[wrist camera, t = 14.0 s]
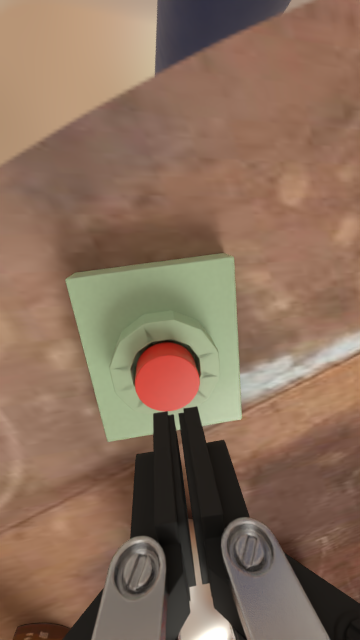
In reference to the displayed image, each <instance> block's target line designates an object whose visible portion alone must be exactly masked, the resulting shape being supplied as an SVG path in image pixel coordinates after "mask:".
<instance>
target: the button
mask: <svg viewBox="0 0 360 640" xmlns="http://www.w3.org/2000/svg"><path fill="white" fill-rule="evenodd" d="M199 385H200V378H199V374H198V371H197V367H196V364H195V361H194V358H193V357H192V355H191V353H190V352H189V351H188V350H187V349H186V348H184V347H183V346H181V345H179V344H176V343H171V342H163V343H158V344H155V345H153V346H151V347H149V348H148V349H146V350H145V351H144V352H143V353H142V354H141V356H140V357H139V359H138V362H137V366H136V376H135V390H136V393H137V395H138V397H139V399H140V400H141V401H142V402H143V403H144V404H145V405H146V406H148V407H150V408H152V409H154V410H158V411H174V410H178V409H180V408H182V407H184V406H186V405H187V404H189V403H190V402H191V401H192V400H193V399H194V397H195V396H196V394H197V392H198V390H199Z"/></svg>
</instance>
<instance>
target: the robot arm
mask: <svg viewBox="0 0 360 640" xmlns="http://www.w3.org/2000/svg"><path fill="white" fill-rule="evenodd" d="M183 411H184V413H178V415H179V422H180V430H181V437H182V444H183V452H184V459H185V466H186V474H187V481H188V488H189V496H190V503H191V510H192V517H193V524H194V531H195V538H196V545H197V552H198V559H199V566H200V572H201V579H202V585H203V584H208V583H209V584H210V590H211V596H212V599H213V605H214V608H215V609H216V610H217V611H218V612H219V613H220V614H221V615H222V616H223V617H224V618H225V619H226V620H227V621H228V622H229V626H230V630H231V633H232V636H233V640H360V604H359V603H358V602H356V601H355V600H354V599H352V598H351V597H349V596H348V595H346V594H345V593H343V592H342V591H340V590H339V589H337V588H336V587H334V586H333V585H331V584H330V583H328V582H327V581H325V580H324V579H322V578H321V577H319V576H318V575H316V574H315V573H313V572H312V571H310V570H309V569H308V568H306V567H305V566H303V565H302V564H300V563H299V562H297V561H296V560H294V559H293V558H291V557H290V556H288V555H287V554H285V553H284V552H283V550H282V548H281V547H280V545H279V543H278V541H277V539H276V537H275V536H274V534H273V533H272V531H271V530H270V529H269V528H268V527H267V526H266V525H265V524H263V523H262V522H260V521H258V520H256V519H254V518H250V517H249V514H248V510H247V507H246V504H245V501H244V498H243V495H242V492H241V489H240V486H239V483H238V480H237V477H236V474H235V471H234V468H233V465H232V461H231V458H230V455H229V452H228V449H227V446H226V443H225V441H224V440H220V441H214V442H208V443H206V440H205V436H204V432H203V427H202V423H201V419H200V415H199V411H198V407H197V406H196V407H190V408H184V409H183ZM153 442H154V452H148V453H142V454H137V455H136V460H135V475H134V490H133V506H132V522H131V537H130V540H128V541H126V542H125V543H124V544H123V545H122V546H121V547H119V548H118V550H117V551H116V553H115V554H114V556H113V558H112V560H111V563H110V566H109V569H108V573H107V577H106V581H105V585H104V588H103V589H102V591H101V592H100V593H99V594H98V596H97V597H96V598H95V599H94V601H93V602H92V603H91V604H90V606H89V607H88V608H87V609H86V611H85V612H84V613H83V614H82V616H81V617H80V618H79V619H78V621H77V622H76V623H75V624H74V625H73V627H72V628H71V629H70V630H69V632H68V633H67V634H66V635H65V637H64V638H63V639H62V640H181V629H182V627H183V625H184V623H185V621H186V620H187V618H188V616H189V614H190V602H189V601H191V599H190V589H189V587H193V586H196V579H195V570H194V562H193V554H192V546H191V538H190V529H189V521H188V513H187V505H186V497H185V488H184V480H183V472H182V465H181V459H180V452H179V445H178V439H177V432H176V426H175V419H174V414H171V415H168V411H165V412H158V413H153Z"/></svg>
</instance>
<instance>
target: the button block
mask: <svg viewBox="0 0 360 640" xmlns="http://www.w3.org/2000/svg"><path fill="white" fill-rule="evenodd" d="M65 281H66V285H67V289H68V292H69V296H70V300H71V304H72V308H73V312H74V315H75V319H76V323H77V327H78V331H79V335H80V338H81V342H82V346H83V350H84V354H85V357H86V361H87V365H88V369H89V373H90V377H91V380H92V384H93V388H94V392H95V396H96V400H97V403H98V407H99V411H100V415H101V419H102V423H103V426H104V430H105V434H106V438H107V441H108V442H110V441H116V440H122V439H128V438H134V437H140V436H146V435H152V434H153V413H158V412H165V411H158V410H154V409H152V408H150V407H148V406H146V405H145V404H144V403H143V402H142V401H141V400H140V399H139V397H138V395H137V393H136V390H135V376H136V366H137V362H138V359H139V357H140V356H141V354H142V353H143V352H144V351H145V350H146V349H148V348H149V347H151V346H153V345H155V344H158V343H163V342H171V343H176V344H179V345H181V346H183V347H184V348H186V349H187V350H188V351H189V352H190V353H191V355H192V357H193V358H194V361H195V364H196V367H197V371H198V374H199V378H200V385H199V390H198V392H197V394H196V396H195V397H194V399H193V400H192V401H191V402H190V403H189V404H187V405H186V406H184V407H182V408H180V409H178V410H174V411H168V415H171V414H174V419H175V426H176V430H180V422H179V415H178V413H184V411H183V409H184V408H190V407H196V406H197V407H198V411H199V415H200V419H201V423H202V426H205V425H211V424H216V423H222V422H228V421H234V420H240V419H242V410H241V390H240V369H239V349H238V329H237V308H236V288H235V267H234V257H233V256H231V255H228V254H225V253H220V254H212V255H205V256H197V257H190V258H182V259H175V260H167V261H160V262H152V263H145V264H137V265H129V266H122V267H114V268H107V269H99V270H92V271H84V272H77V273H74V274H72V275H71V276H69V277H68V278H66V279H65Z"/></svg>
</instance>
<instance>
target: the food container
mask: <svg viewBox="0 0 360 640" xmlns="http://www.w3.org/2000/svg"><path fill="white" fill-rule="evenodd" d="M69 630H70V629H69V628H67V627H64V626H60V625H56V624H48V623H37V624H28V625H23V626H19V627H17V630H16V632H15V635H14V638H13V640H62V639H63V638H64V637H65V635H66V634H67V633H68V632H69Z"/></svg>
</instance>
